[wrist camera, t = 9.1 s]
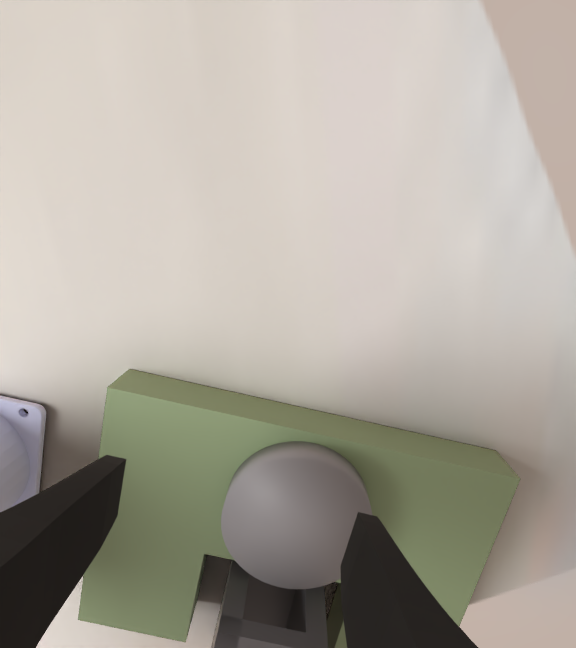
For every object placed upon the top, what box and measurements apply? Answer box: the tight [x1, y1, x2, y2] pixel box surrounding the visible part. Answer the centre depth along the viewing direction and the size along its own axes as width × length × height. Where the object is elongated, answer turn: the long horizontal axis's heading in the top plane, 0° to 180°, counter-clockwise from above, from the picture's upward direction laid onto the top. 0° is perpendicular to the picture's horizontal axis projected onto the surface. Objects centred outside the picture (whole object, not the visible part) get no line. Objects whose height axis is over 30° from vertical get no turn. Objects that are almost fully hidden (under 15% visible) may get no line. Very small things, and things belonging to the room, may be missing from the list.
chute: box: [211, 560, 328, 648], centre depth 22 cm, size 5×8×6 cm, turn 167°
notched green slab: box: [78, 369, 520, 648], centre depth 21 cm, size 20×14×4 cm
